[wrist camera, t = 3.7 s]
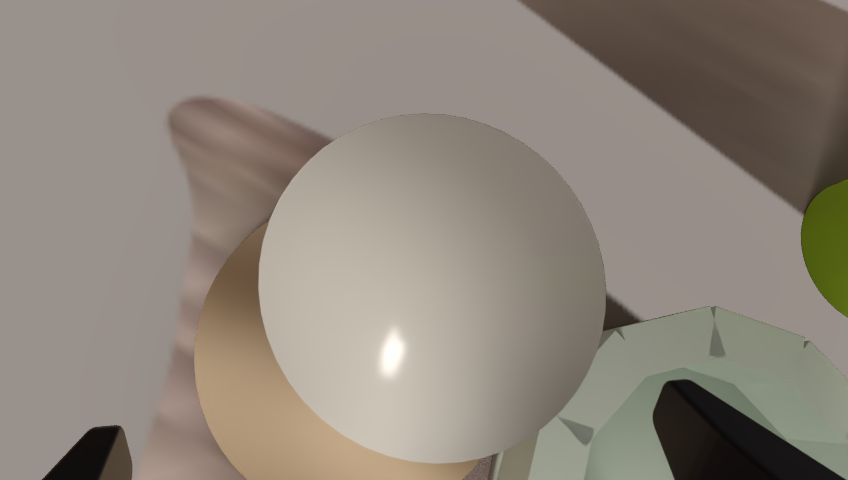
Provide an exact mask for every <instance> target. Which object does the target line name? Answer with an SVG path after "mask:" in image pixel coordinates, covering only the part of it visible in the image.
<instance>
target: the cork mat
mask: <svg viewBox="0 0 848 480" xmlns="http://www.w3.org/2000/svg"><path fill="white" fill-rule="evenodd" d="M268 224H269V221H268V222H266V223H265V224H263V225H262V226H260V227H259V228H258V229H256V230H255V231H254V232H253V233H252V234H251V235H250V236H249V237H247V238H246V239H245V240H244V241H243V242H242V243H241V244H240V245H239V246H238V248H237V249H236V250H235V251H234V252H233V253H232V255H231V256H230V257H229V258H228V259H227V261H226V262H225V264H224V265H223V267H222V268H221V270H220V271H219V273H218V275H217V276H216V278H215V280H214V282H213V284H212V286H211V288H210V290H209V292H208V294H207V296H206V299H205V302H204V305H203V308H202V311H201V314H200V318H199V323H198V328H197V333H196V338H195V355H194V366H195V378H196V386H197V391H198V395H199V400H200V404H201V408H202V410H203V413H204V416H205V418H206V421H207V424H208V426H209V429H210V430H211V432H212V434H213V436H214V438H215V440H216V441H217V443H218V445H219V447H220V449H221V450H222V451H223V453H224V454H225V455H226V457H227V458H228V459H229V461H230V462H231V463H232V465H233V466H234V467H235V468H236V469H237V470H238V471H239V472H240V473H241V474H242V475H243V476H244V477H245V478H246V479H247V480H462V479H463V478H464V477H465V476H466V475H467V474H468V473H469V472H470V471H471V470H472V469H473V468H474V467H475V466H476V465H477V464H478V462H479V461H480V460H481V459H482V458H480V459H475V460H470V461H465V462H458V463H441V464H434V463H422V462H411V461H407V460H403V459H398V458H394V457H389V456H386V455H384V454H381V453H378V452H376V451H373V450H371V449H368V448H365V447H363V446H361V445H360V444H358V443H356V442H354V441H352V440H351V439H349V438H347V437H345V436H343V435H342V434H340V433H339V432H338V431H336V430H335V429H334V428H332V427H331V426H330V425H328V424H327V423H326V422H324V421H323V420H322V419H321V418H320V417H319V416H318V415H317V414H316V413H315V412H314V411H313V410H312V409H311V408H310V407H309V406H308V405H307V404H306V403H305V402H304V401H303V400H302V399H301V397H300V396H299V395H298V393H297V392H296V391H295V390H294V388H293V387H292V386H291V384H290V383H289V382H288V380H287V378H286V376H285V375H284V373H283V371H282V369H281V368H280V366H279V364H278V362H277V361H276V358H275V356H274V353H273V351H272V348H271V346H270V343H269V341H268V338H267V335H266V331H265V327H264V323H263V319H262V315H261V309H260V300H259V290H258V282H259V262H260V256H261V250H262V244H263V239H264V236H265V233H266V230H267V227H268Z"/></svg>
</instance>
